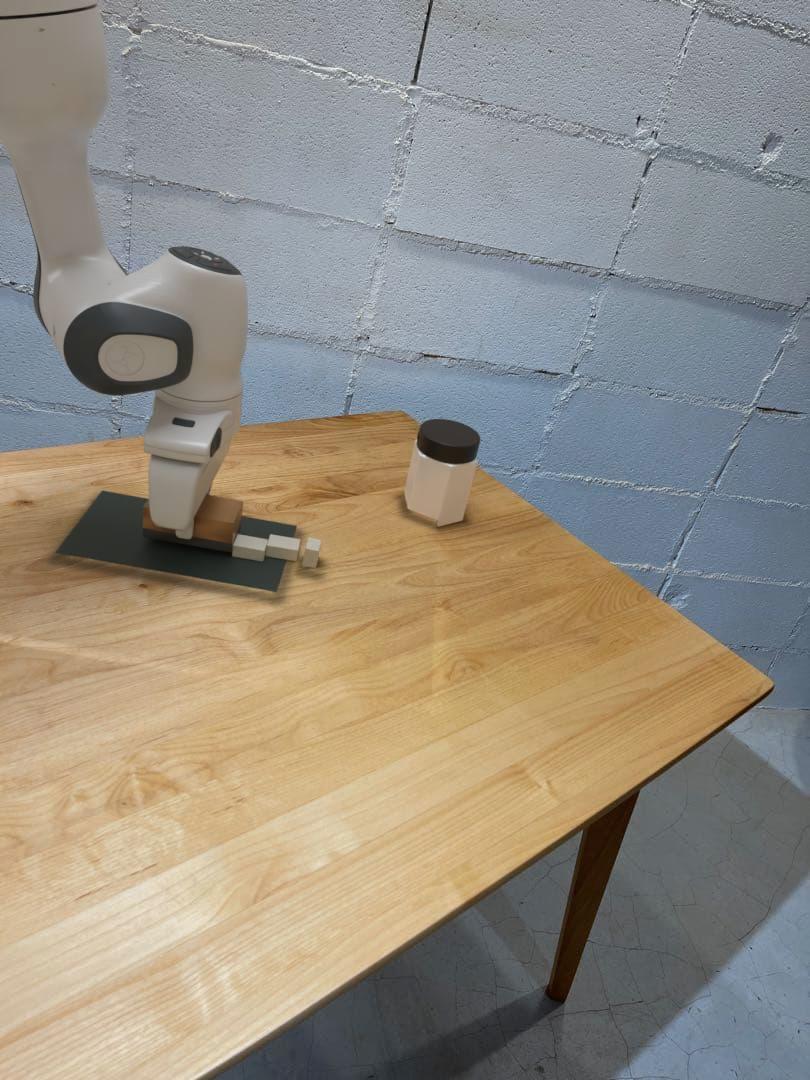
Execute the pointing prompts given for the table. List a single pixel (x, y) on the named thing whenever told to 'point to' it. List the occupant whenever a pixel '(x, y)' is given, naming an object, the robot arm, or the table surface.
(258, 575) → the chalkboard
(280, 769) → the table surface
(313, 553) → the white rectangular block
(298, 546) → the white rectangular block
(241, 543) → the white rectangular block
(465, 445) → the jar
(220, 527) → the eraser
